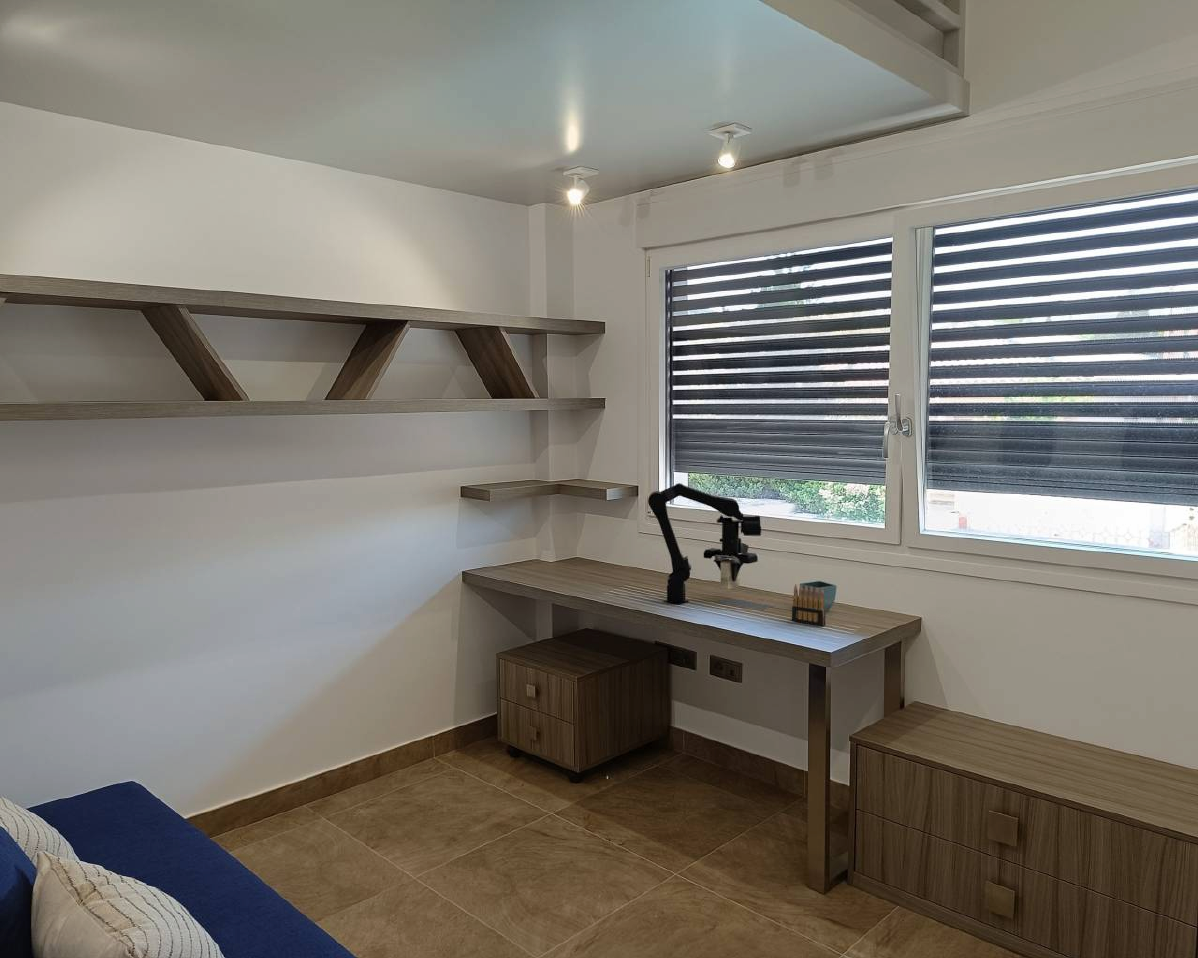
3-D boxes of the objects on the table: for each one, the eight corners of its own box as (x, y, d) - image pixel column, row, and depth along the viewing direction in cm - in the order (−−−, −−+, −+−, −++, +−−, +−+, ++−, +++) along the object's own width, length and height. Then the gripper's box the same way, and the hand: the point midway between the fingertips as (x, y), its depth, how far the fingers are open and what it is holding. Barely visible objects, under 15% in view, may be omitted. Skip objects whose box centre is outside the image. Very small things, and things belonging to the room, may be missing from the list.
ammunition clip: (791, 621, 288) (791, 584, 287) (794, 620, 290) (794, 583, 289) (822, 626, 282) (823, 588, 281) (825, 625, 283) (826, 587, 282)
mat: (761, 611, 303) (761, 610, 303) (716, 603, 315) (716, 602, 315) (774, 606, 309) (774, 605, 309) (729, 599, 321) (729, 598, 321)
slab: (727, 589, 312) (728, 562, 311) (720, 587, 314) (720, 561, 313) (739, 585, 317) (739, 560, 316) (732, 584, 319) (732, 559, 318)
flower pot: (816, 615, 296) (816, 588, 296) (798, 609, 304) (798, 583, 303) (837, 612, 300) (837, 585, 300) (819, 606, 308) (819, 580, 307)
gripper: (766, 535, 313) (766, 580, 315) (720, 530, 326) (720, 573, 327) (748, 539, 305) (748, 585, 307) (702, 534, 318) (702, 578, 319)
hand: (730, 580), depth 315 cm, fingers closed on slab, 3 cm apart
